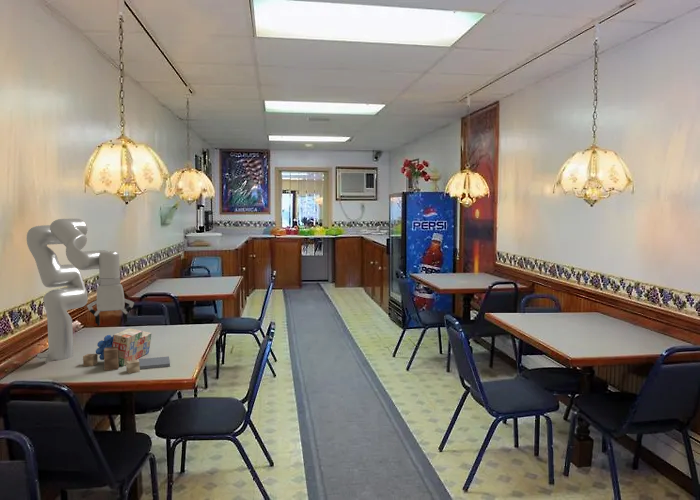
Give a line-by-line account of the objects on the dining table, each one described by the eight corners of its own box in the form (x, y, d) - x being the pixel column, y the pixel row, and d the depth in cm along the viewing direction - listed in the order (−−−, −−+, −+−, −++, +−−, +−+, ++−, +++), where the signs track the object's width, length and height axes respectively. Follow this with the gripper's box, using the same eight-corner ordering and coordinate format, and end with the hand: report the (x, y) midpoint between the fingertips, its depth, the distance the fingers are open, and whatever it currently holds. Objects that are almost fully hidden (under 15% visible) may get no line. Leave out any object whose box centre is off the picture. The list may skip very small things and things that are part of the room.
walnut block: (104, 370, 216) (103, 350, 216) (105, 367, 221) (104, 347, 220) (118, 369, 218) (117, 349, 217) (118, 365, 223) (118, 346, 222)
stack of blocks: (135, 350, 244) (140, 323, 243) (148, 353, 243) (153, 326, 242) (109, 362, 223) (113, 333, 222) (123, 366, 222) (128, 337, 221)
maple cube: (129, 373, 212) (128, 363, 212) (126, 371, 216) (126, 361, 215) (139, 371, 215) (139, 361, 214) (137, 369, 218) (136, 359, 218)
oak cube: (83, 365, 223) (83, 356, 223) (88, 363, 227) (88, 353, 227) (92, 365, 223) (92, 356, 223) (97, 363, 227) (97, 353, 227)
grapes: (124, 358, 235) (128, 331, 234) (123, 363, 229) (128, 336, 228) (95, 356, 231) (99, 329, 230) (93, 361, 225) (98, 334, 224)
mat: (138, 369, 218) (138, 366, 218) (139, 361, 229) (139, 358, 229) (170, 366, 222) (169, 363, 222) (169, 359, 233) (169, 356, 233)
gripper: (85, 284, 211) (86, 327, 212) (132, 282, 217) (134, 324, 218) (87, 282, 218) (89, 324, 219) (133, 280, 224) (134, 321, 225)
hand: (111, 324), depth 219 cm, fingers open, 9 cm apart
